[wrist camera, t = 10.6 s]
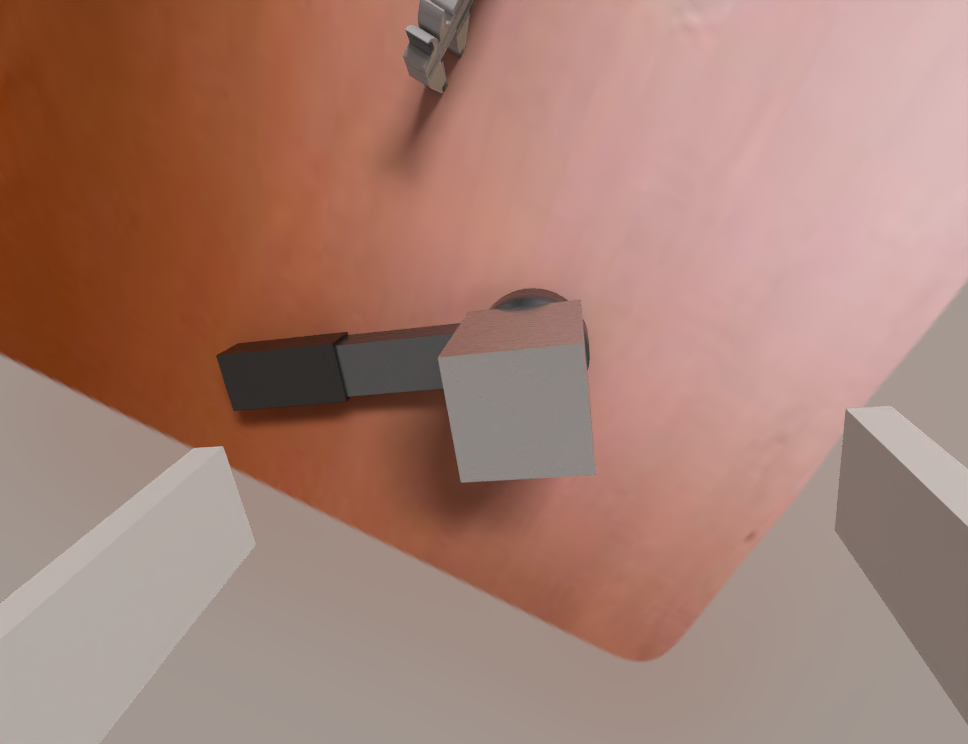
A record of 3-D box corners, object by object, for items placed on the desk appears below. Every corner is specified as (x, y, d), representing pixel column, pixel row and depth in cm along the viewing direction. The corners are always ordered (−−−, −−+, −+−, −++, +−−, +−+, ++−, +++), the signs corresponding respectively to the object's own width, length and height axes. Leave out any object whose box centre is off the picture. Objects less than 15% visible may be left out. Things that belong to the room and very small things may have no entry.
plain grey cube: (468, 312, 29) (437, 357, 22) (580, 299, 28) (583, 343, 21) (484, 413, 31) (460, 482, 24) (590, 405, 30) (595, 475, 23)
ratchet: (231, 322, 34) (156, 358, 28) (583, 282, 30) (585, 314, 24) (259, 415, 36) (195, 467, 30) (592, 388, 32) (597, 442, 26)
